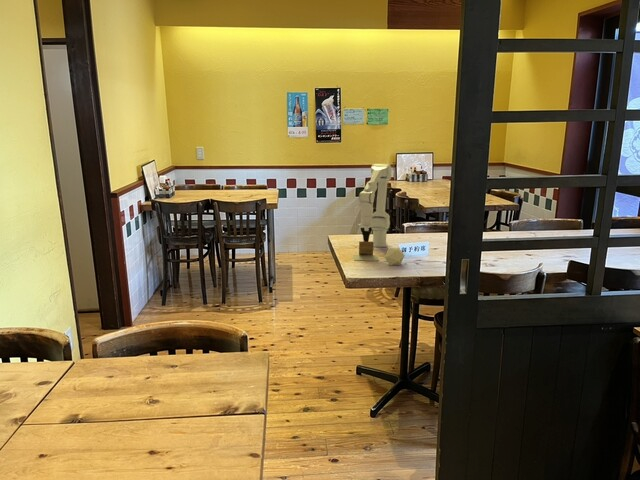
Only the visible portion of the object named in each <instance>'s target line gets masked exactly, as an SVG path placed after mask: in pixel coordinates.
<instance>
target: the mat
mask: <svg viewBox="0 0 640 480" xmlns="http://www.w3.org/2000/svg"><path fill="white" fill-rule="evenodd" d="M353 260H354V262H356V261H358V262H359V261H364V262H365V261H367V262H368V261H369V262H373V261H375V262H376V261H377V262H379V261H380V260H379V255H378V254H377V255H376V254H373V255H359V254H354V255H353Z"/></svg>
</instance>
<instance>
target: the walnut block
mask: <svg viewBox="0 0 640 480" xmlns="http://www.w3.org/2000/svg"><path fill="white" fill-rule="evenodd" d="M358 255H374V246H373V241H368V242H364V241H361V240H360V241H359V242H358Z"/></svg>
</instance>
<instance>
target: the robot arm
mask: <svg viewBox="0 0 640 480" xmlns="http://www.w3.org/2000/svg"><path fill="white" fill-rule="evenodd" d="M392 171H393V170H392V166H391V164H389V163H388V164H386V163H385V164H382V163H381V164H380V163H373V164H372V165H371V167H370V174H371V177H370V180H369V181H367V182H366V185H365V186H364V189H363V190H362V191H360V192H359V195H358V202H359V207H360V223H358V224H357V226H359V227H360V232H361V234H362V240H363V242H370V241H369V240H370V235H371V232H372V242H373V246H374V247H376V248H381V247H382V248H385V247H388V242H387V230H388V229H390V225H391V221H390V217H391V216H390V215H389V213H387V212H386V203H387V192H388V182H389V181H391V179H392ZM376 191H377V193H376ZM375 193H376V194H377V195H375ZM375 196H377V197H376V208H375V211H374V212H373V203H374V201H375Z"/></svg>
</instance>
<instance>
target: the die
mask: <svg viewBox="0 0 640 480" xmlns="http://www.w3.org/2000/svg"><path fill="white" fill-rule="evenodd" d="M384 258H385V260H386V261H387V263H388V264H389V265H390V266H399V265H402V262H403V260H404V258H405V254H404V252H403V251H402V250H401V248H400V247H388V249H387V251H386V254H385V256H384Z"/></svg>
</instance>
